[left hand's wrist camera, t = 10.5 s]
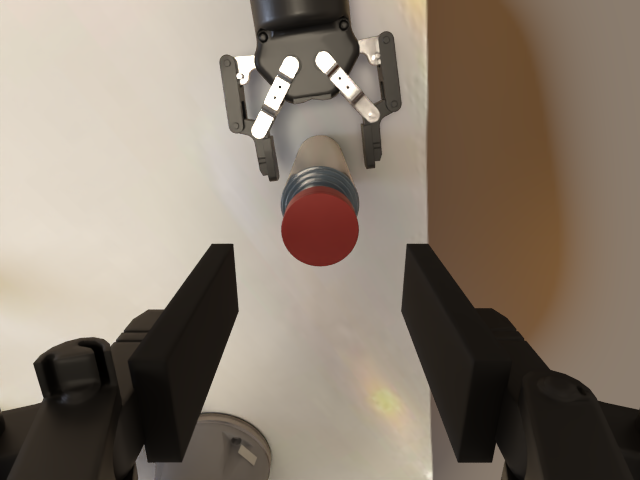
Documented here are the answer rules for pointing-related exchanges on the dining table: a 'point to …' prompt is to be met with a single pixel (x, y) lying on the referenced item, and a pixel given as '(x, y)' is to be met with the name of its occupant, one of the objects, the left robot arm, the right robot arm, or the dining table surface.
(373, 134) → the right robot arm
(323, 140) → the bottle
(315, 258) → the cap
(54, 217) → the dining table surface
